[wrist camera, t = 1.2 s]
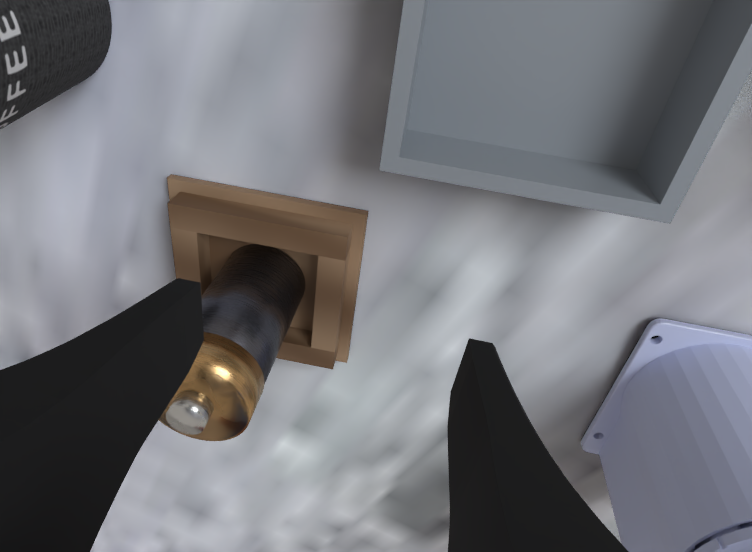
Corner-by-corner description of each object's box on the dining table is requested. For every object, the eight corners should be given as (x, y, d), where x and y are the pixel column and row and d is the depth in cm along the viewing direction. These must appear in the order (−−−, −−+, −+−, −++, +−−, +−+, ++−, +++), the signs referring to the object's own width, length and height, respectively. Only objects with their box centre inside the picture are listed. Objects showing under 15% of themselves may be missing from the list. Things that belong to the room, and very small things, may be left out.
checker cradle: (348, 357, 28) (342, 378, 26) (187, 325, 28) (174, 344, 27) (368, 211, 23) (362, 228, 21) (171, 174, 23) (153, 189, 22)
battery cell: (304, 318, 26) (243, 468, 19) (226, 303, 26) (136, 445, 19) (308, 251, 24) (240, 393, 17) (223, 235, 24) (119, 368, 17)
